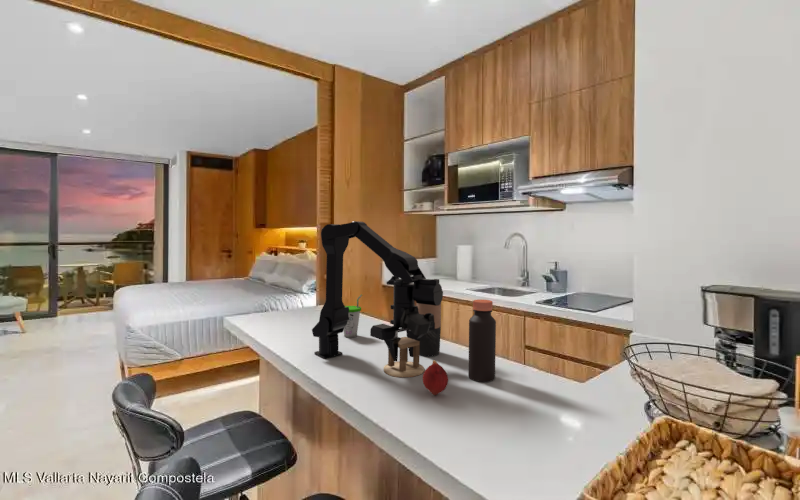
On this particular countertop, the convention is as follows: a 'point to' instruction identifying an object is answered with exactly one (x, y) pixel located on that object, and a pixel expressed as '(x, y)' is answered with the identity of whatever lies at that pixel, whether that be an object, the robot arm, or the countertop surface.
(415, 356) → the tan block with prongs
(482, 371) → the bottle
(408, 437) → the countertop surface
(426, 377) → the onion
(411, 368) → the trivet
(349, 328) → the cup
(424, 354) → the travel mug
